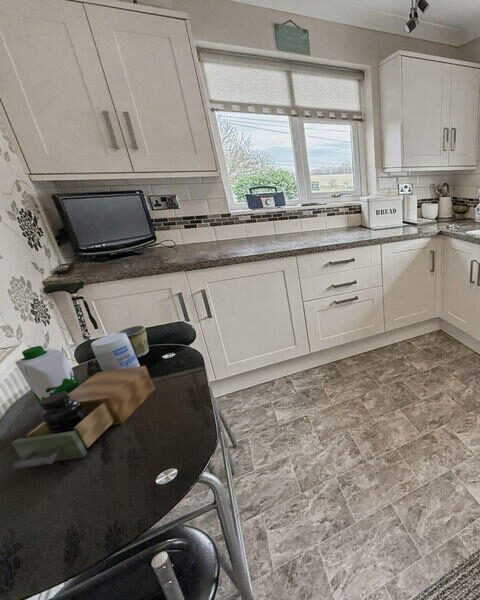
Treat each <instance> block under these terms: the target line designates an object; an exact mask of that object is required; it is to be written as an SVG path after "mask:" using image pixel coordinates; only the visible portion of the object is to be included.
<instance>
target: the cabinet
mask: <svg viewBox="0 0 480 600" xmlns="http://www.w3.org/2000/svg"><path fill="white" fill-rule="evenodd" d="M155 387H156V386H155V385H154V382H153V380H152V378H151V375H150V373H149V371H148V369H147V366H146V365H140V366H139V367H132V368H124V369H117V370H109V371H102V370H101V371H97V372H96V373H94V374H93V375H92V376H91V377H89V378H88V379H86V380H84V382H83V383H81V384H80V386H78V387H77V388H76V389H74V390H73V391H72V392H70V393H69V394H68V395H69V396H70V398H71V399H74V400H77V401H79V403H80V404H87V403H95V402H102V401H107V402H108V404H109V406H110V408H111V410H112V412H113V414H114V416H115V418H116V420H115V421H114V422H113V423H112V424H111V425H110V426H119V425H122V424H124V423H125V422H126V421H127V419H129V417H130V416H132V414H134V412H135V411H136V410H137V409H138V408H139V407H140V406H141V405H142V404H143V403H144V402H145V401H146V399H148V398H149V396H151V395H152V394H153V392H154V391H155V390H156V388H155ZM110 426H109V427H110Z"/></svg>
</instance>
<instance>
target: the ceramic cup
mask: <svg viewBox="0 0 480 600" xmlns="http://www.w3.org/2000/svg"><path fill="white" fill-rule="evenodd" d="M116 333H125V334H126V335H127V337H128V339H129V341H130V343H131V346H132V348H133V350H134V353H135V355H136V358H137V359H138V358H140V357H143V356H145V355H147V354H148V353H149V351H150V347H149V343H148V342H149V341H148V338H147V337H148V336H147V330H146V327H145V326H144V325H136V326H135V325H133V326H130V327H127V328H123V329H121V330H118V331H117V332H115V333H114V334H116Z"/></svg>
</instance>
